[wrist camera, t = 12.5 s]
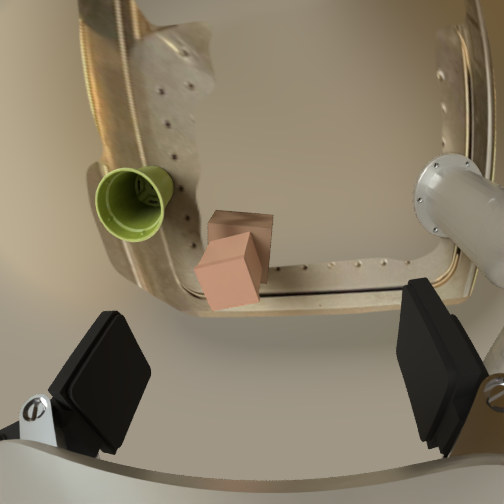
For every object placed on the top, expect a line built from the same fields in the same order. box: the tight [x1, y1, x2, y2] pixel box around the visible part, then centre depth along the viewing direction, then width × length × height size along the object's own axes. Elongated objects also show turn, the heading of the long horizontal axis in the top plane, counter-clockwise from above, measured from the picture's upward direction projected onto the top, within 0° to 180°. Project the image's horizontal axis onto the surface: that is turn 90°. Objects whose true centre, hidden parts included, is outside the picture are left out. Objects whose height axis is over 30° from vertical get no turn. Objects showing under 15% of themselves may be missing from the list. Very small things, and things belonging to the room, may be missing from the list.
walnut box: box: [208, 210, 273, 284], centre depth 43 cm, size 8×8×5 cm
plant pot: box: [95, 166, 173, 242], centre depth 39 cm, size 9×9×9 cm
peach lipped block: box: [194, 232, 262, 311], centre depth 38 cm, size 6×6×7 cm
